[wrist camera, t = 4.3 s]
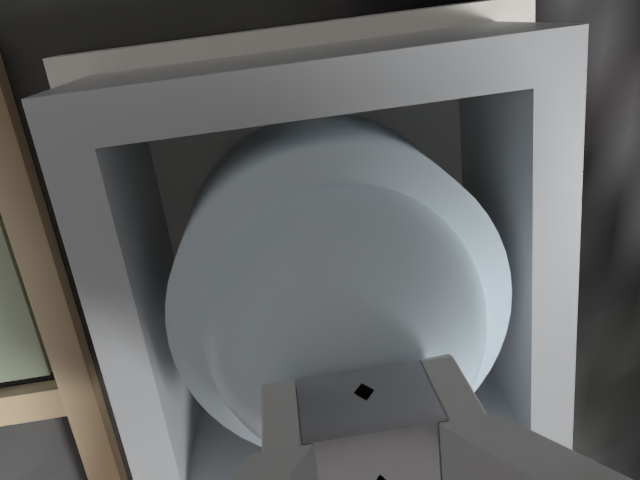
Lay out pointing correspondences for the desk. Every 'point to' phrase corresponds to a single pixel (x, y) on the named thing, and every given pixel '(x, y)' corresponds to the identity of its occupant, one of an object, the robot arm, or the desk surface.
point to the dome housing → (301, 104)
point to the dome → (329, 266)
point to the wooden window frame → (43, 313)
